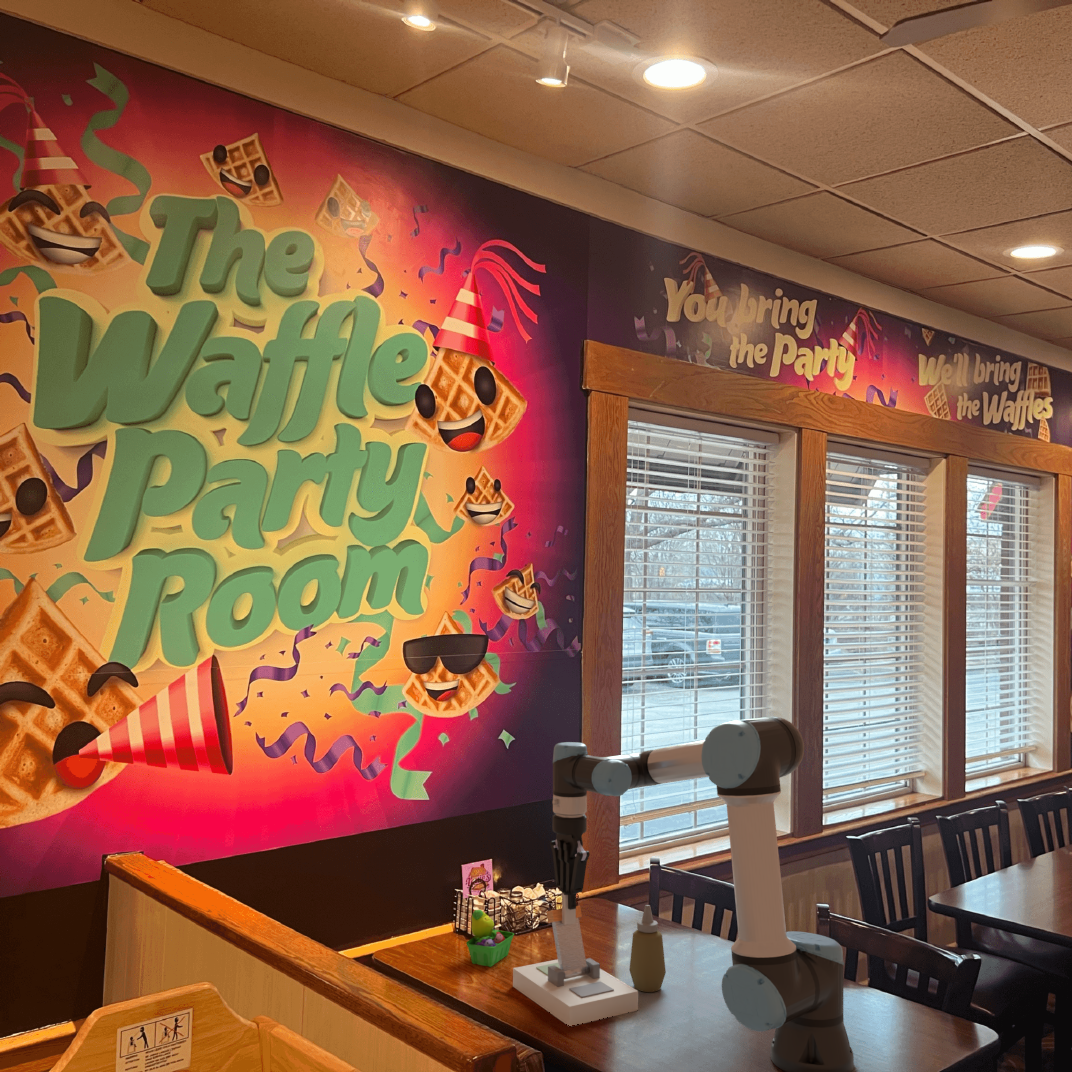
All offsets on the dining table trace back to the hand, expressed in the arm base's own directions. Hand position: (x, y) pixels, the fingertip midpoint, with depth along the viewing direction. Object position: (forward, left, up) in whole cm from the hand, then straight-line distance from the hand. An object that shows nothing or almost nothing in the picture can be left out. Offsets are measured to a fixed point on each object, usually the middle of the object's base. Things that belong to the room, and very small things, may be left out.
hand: (568, 922), depth 223 cm
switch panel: (-2, 0, -16) cm, 16 cm away
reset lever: (-2, 0, -10) cm, 10 cm away
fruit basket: (+28, +5, -16) cm, 33 cm away
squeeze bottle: (-5, -18, -16) cm, 24 cm away
